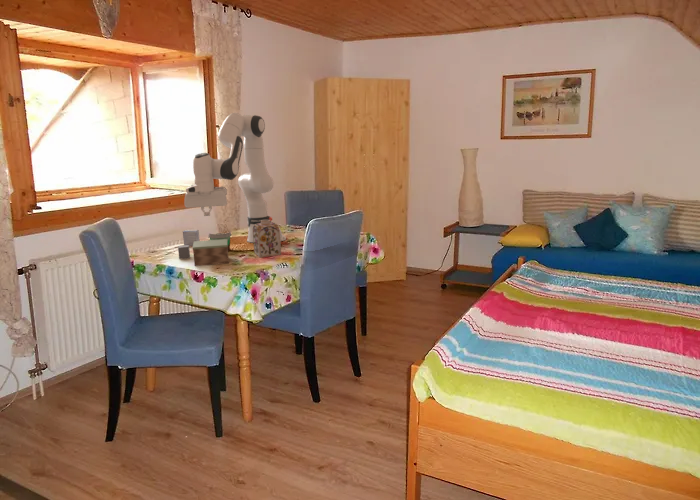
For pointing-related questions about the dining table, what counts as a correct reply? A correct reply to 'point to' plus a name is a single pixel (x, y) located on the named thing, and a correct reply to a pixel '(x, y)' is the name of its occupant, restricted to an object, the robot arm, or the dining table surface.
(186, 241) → the medicine box
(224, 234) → the food container
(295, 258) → the dining table surface
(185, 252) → the block
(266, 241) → the decorative jar
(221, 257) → the wooden box
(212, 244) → the box lid
